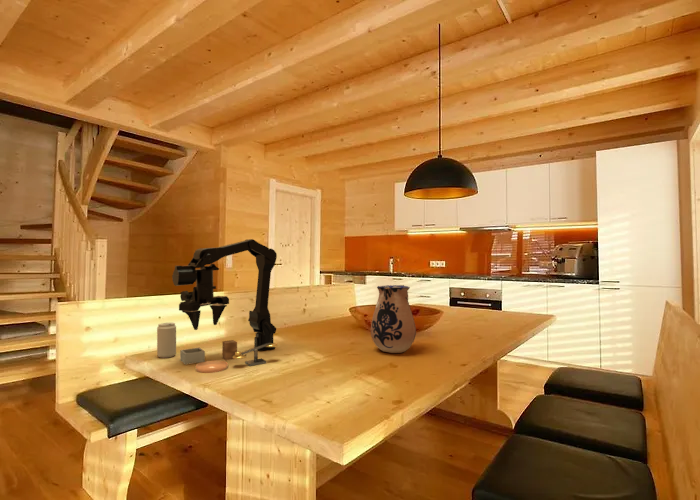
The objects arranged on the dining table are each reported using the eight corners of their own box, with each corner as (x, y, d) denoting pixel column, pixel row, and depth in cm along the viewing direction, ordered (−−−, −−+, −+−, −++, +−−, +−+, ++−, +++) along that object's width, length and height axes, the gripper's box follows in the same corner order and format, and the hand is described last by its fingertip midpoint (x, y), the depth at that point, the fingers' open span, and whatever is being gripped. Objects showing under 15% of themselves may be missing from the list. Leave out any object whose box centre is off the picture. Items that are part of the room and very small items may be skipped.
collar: (199, 357, 147) (199, 347, 147) (204, 361, 141) (204, 351, 141) (180, 360, 143) (180, 350, 143) (185, 364, 137) (185, 354, 137)
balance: (274, 358, 145) (274, 340, 145) (279, 361, 142) (279, 342, 142) (230, 365, 136) (230, 346, 136) (235, 368, 132) (235, 349, 132)
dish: (222, 362, 140) (222, 358, 140) (232, 369, 132) (232, 365, 132) (192, 367, 134) (192, 363, 134) (200, 374, 126) (200, 370, 126)
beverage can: (168, 358, 145) (168, 325, 145) (153, 358, 146) (153, 324, 146) (179, 354, 151) (179, 322, 151) (164, 353, 152) (164, 321, 152)
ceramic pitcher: (364, 353, 152) (364, 287, 152) (381, 342, 172) (381, 283, 172) (410, 358, 145) (410, 289, 145) (422, 345, 165) (422, 284, 165)
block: (233, 356, 149) (233, 339, 149) (237, 358, 145) (237, 341, 145) (222, 357, 146) (222, 341, 146) (226, 360, 143) (226, 343, 143)
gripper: (207, 280, 155) (207, 321, 155) (166, 285, 138) (167, 330, 139) (229, 281, 151) (230, 323, 151) (190, 286, 134) (191, 333, 134)
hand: (205, 327), depth 144 cm, fingers open, 9 cm apart
